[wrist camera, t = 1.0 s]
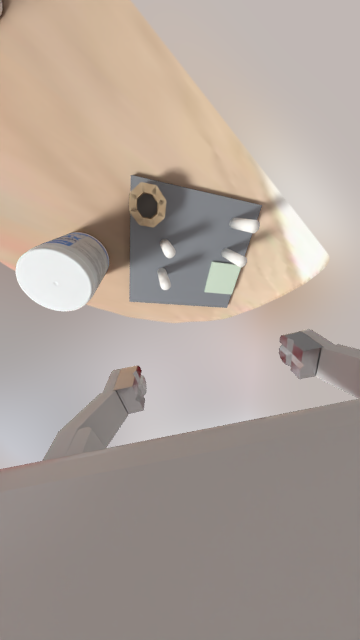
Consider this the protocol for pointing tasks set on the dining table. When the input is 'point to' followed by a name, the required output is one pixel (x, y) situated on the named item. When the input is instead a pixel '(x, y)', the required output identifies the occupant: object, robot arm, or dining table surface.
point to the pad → (222, 278)
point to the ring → (159, 198)
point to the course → (187, 244)
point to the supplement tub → (63, 271)
